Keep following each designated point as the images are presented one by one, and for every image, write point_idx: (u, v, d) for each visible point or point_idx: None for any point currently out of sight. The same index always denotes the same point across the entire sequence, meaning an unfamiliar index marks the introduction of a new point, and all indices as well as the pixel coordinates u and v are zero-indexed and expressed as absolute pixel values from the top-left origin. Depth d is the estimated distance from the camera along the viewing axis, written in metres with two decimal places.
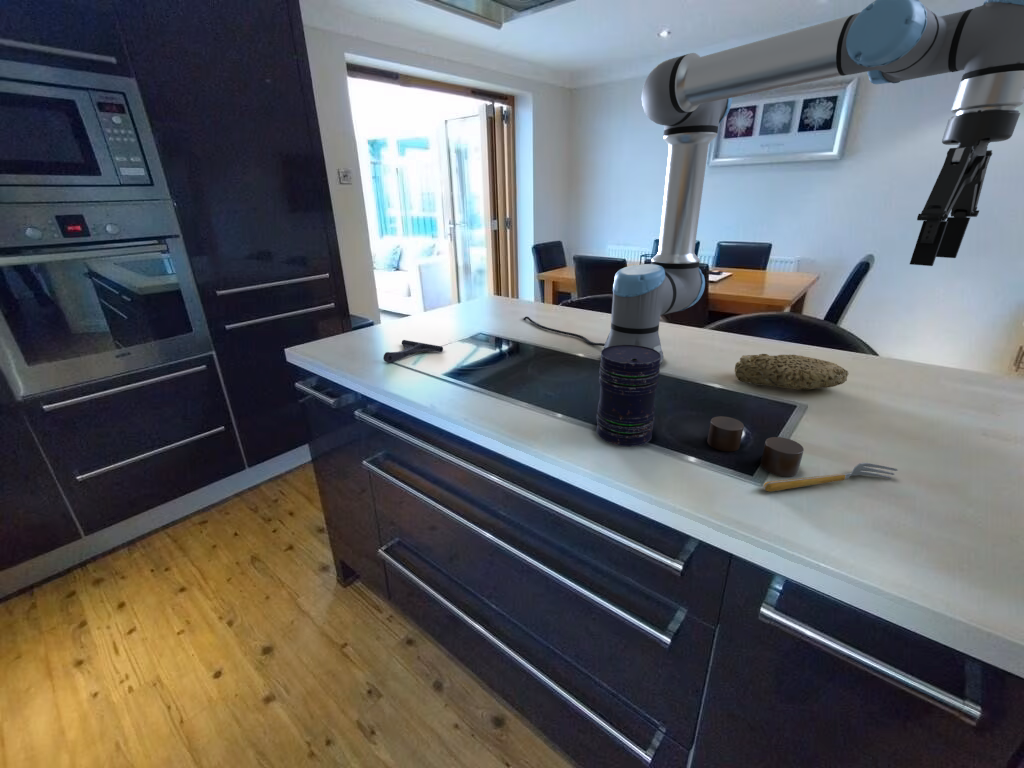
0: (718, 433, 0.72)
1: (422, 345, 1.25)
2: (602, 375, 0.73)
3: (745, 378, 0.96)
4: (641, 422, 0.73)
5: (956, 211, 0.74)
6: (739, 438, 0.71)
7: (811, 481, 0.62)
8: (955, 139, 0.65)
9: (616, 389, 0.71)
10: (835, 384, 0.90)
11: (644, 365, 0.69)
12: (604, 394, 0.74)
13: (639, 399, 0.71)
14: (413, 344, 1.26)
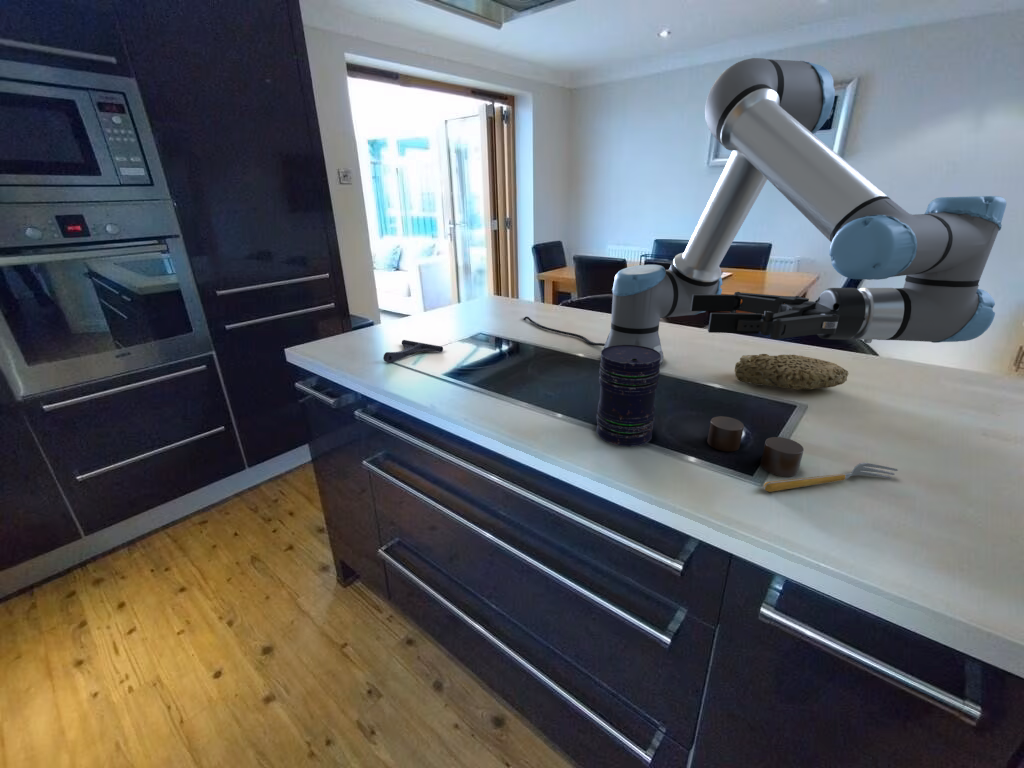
0: (718, 433, 0.72)
1: (422, 345, 1.25)
2: (602, 375, 0.73)
3: (745, 378, 0.96)
4: (641, 422, 0.73)
5: (738, 299, 0.73)
6: (739, 438, 0.71)
7: (811, 481, 0.62)
8: (840, 308, 0.61)
9: (616, 389, 0.71)
10: (835, 384, 0.90)
11: (644, 365, 0.69)
12: (604, 394, 0.74)
13: (639, 399, 0.71)
14: (413, 344, 1.26)
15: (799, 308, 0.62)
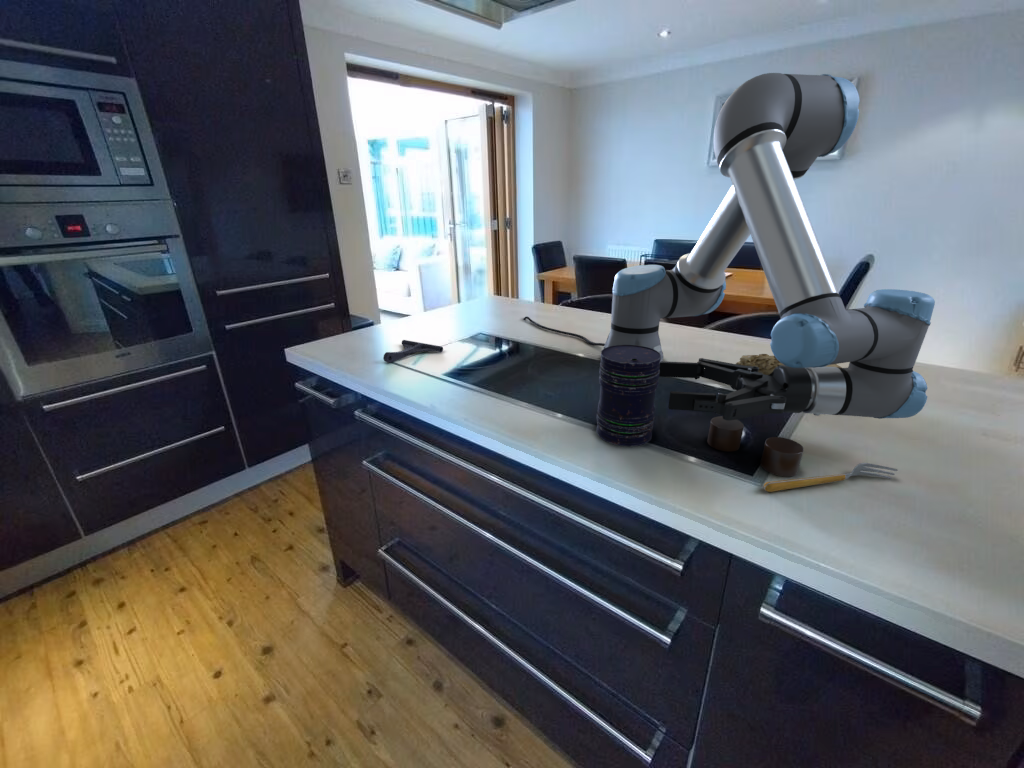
0: (718, 433, 0.72)
1: (422, 345, 1.25)
2: (602, 375, 0.73)
3: None
4: (641, 422, 0.73)
5: (702, 366, 0.79)
6: (739, 438, 0.71)
7: (811, 481, 0.62)
8: (788, 388, 0.67)
9: (616, 389, 0.71)
10: None
11: (644, 365, 0.69)
12: (604, 394, 0.74)
13: (639, 399, 0.71)
14: (413, 344, 1.26)
15: (751, 387, 0.67)
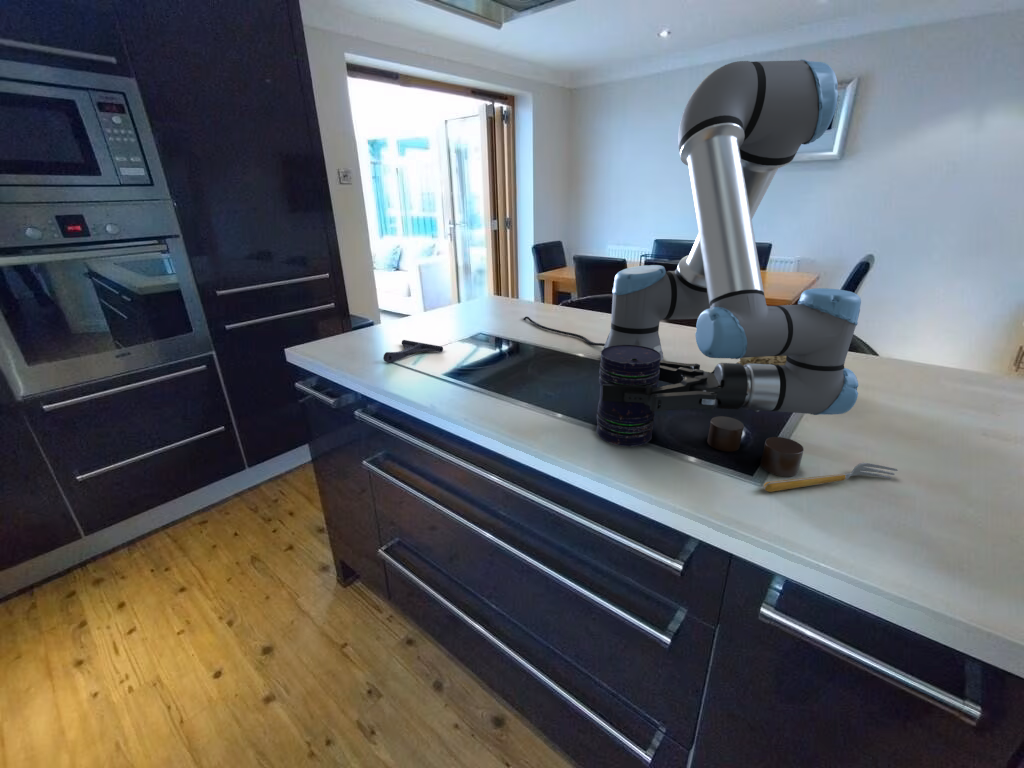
0: (718, 433, 0.72)
1: (422, 345, 1.25)
2: (602, 375, 0.73)
3: None
4: (641, 422, 0.73)
5: None
6: (739, 438, 0.71)
7: (811, 481, 0.62)
8: (725, 384, 0.69)
9: None
10: None
11: (644, 365, 0.69)
12: None
13: None
14: (413, 344, 1.26)
15: (686, 382, 0.70)
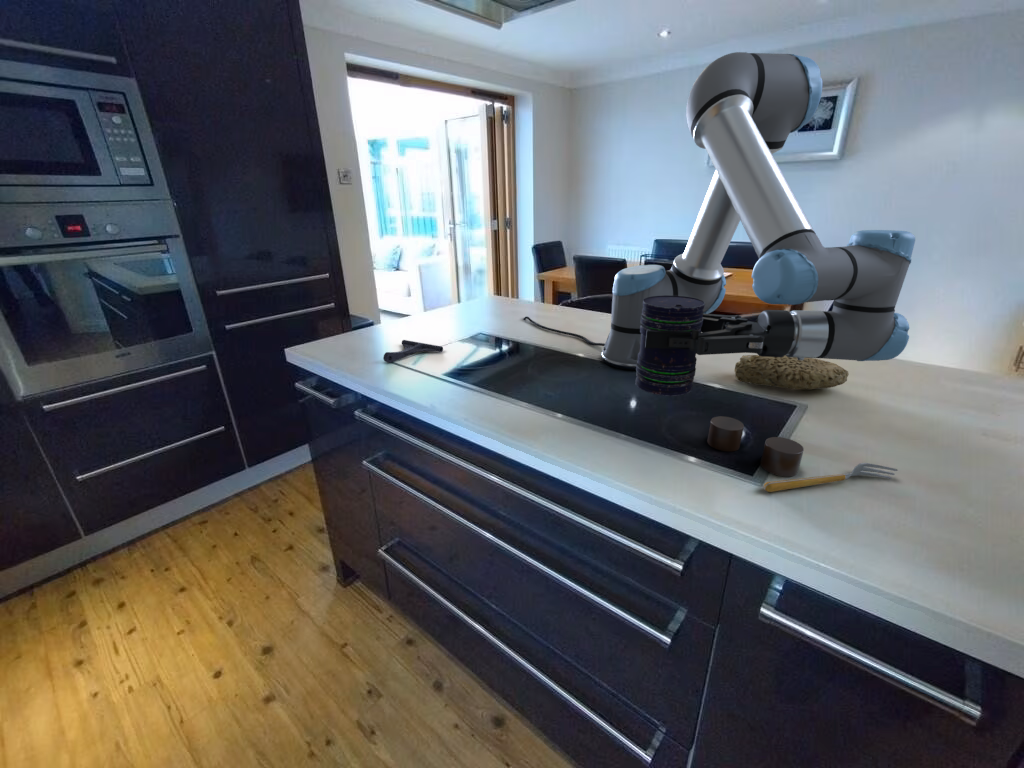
0: (718, 433, 0.72)
1: (422, 345, 1.25)
2: (644, 323, 0.72)
3: (745, 378, 0.96)
4: (684, 370, 0.72)
5: None
6: (739, 438, 0.71)
7: (811, 481, 0.62)
8: (771, 329, 0.68)
9: None
10: (835, 384, 0.90)
11: (689, 310, 0.68)
12: None
13: None
14: (413, 344, 1.26)
15: (731, 328, 0.69)
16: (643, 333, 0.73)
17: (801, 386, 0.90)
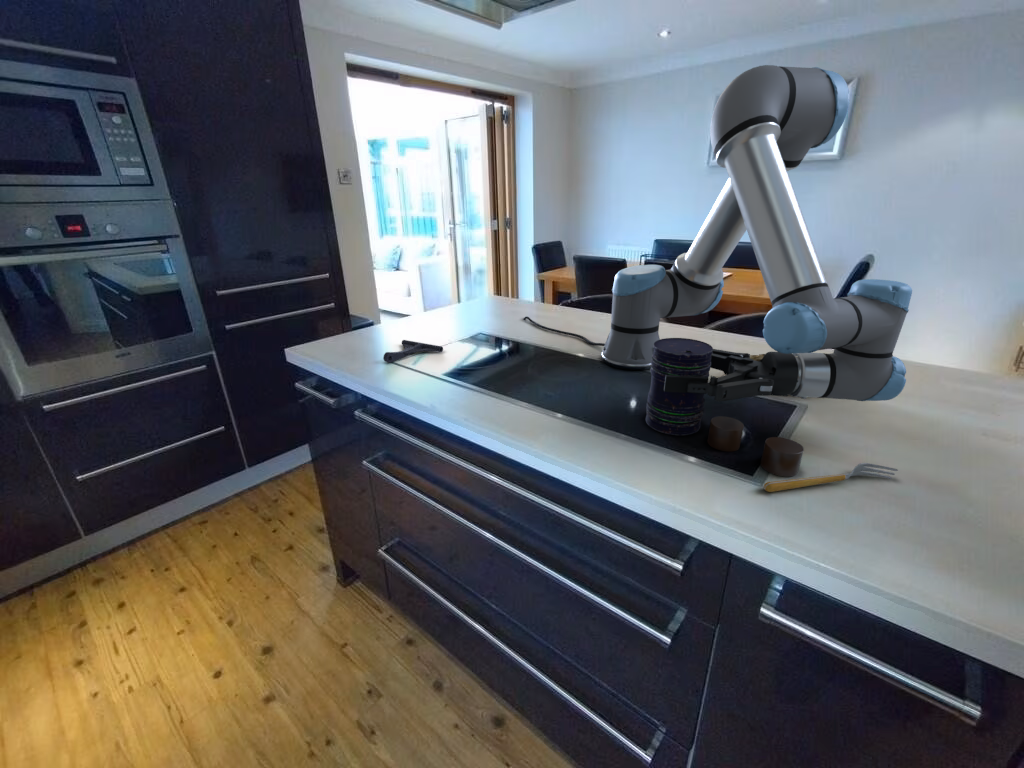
0: (718, 433, 0.72)
1: (422, 345, 1.25)
2: (655, 366, 0.76)
3: None
4: (693, 412, 0.76)
5: None
6: (739, 438, 0.71)
7: (811, 481, 0.62)
8: (776, 372, 0.71)
9: None
10: None
11: (698, 357, 0.72)
12: (656, 385, 0.77)
13: None
14: (413, 344, 1.26)
15: (742, 371, 0.72)
16: (654, 375, 0.77)
17: None
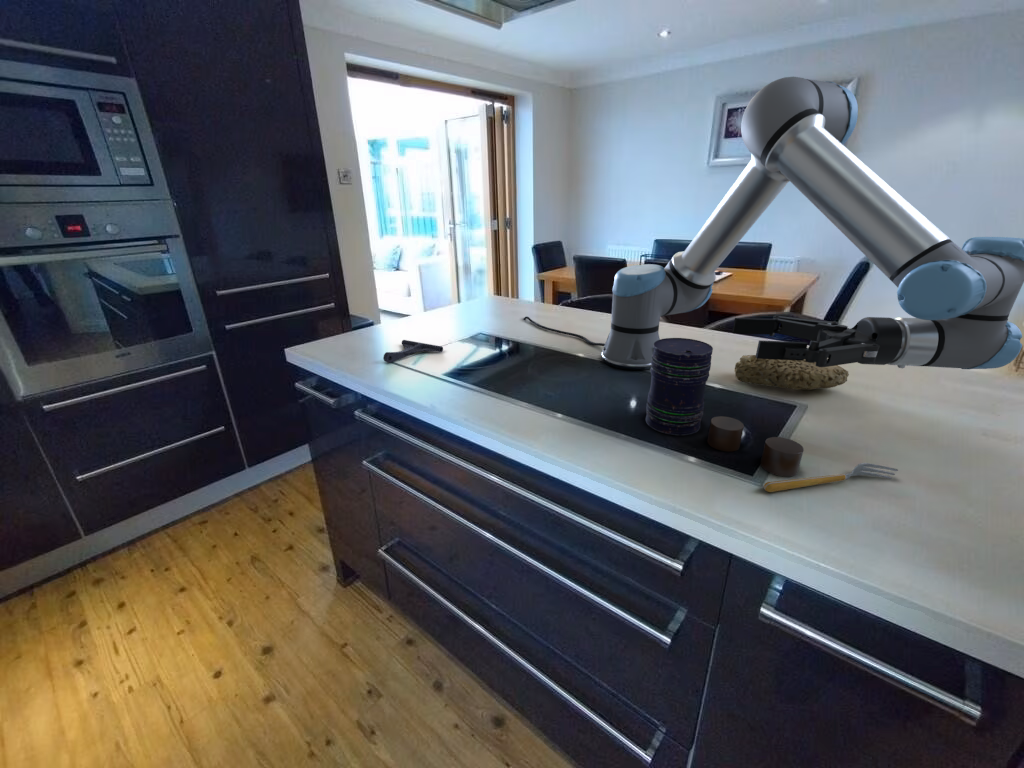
0: (718, 433, 0.72)
1: (422, 345, 1.25)
2: (655, 366, 0.76)
3: (745, 378, 0.96)
4: (693, 412, 0.76)
5: (778, 322, 0.78)
6: (739, 438, 0.71)
7: (811, 481, 0.62)
8: (878, 337, 0.67)
9: (670, 380, 0.74)
10: (835, 384, 0.90)
11: (698, 357, 0.72)
12: (656, 385, 0.77)
13: (692, 389, 0.74)
14: (413, 344, 1.26)
15: (841, 337, 0.67)
16: (654, 375, 0.77)
17: (801, 386, 0.90)
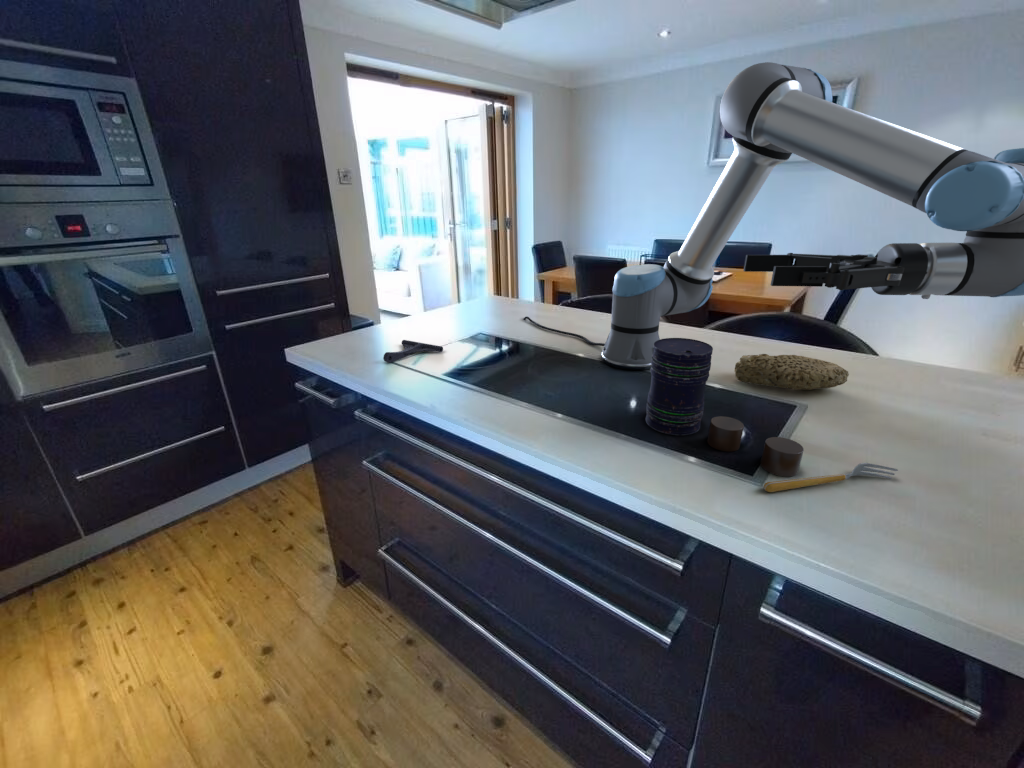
0: (718, 433, 0.72)
1: (422, 345, 1.25)
2: (655, 366, 0.76)
3: (745, 378, 0.96)
4: (693, 412, 0.76)
5: (792, 259, 0.74)
6: (739, 438, 0.71)
7: (811, 481, 0.62)
8: (902, 262, 0.62)
9: (670, 380, 0.74)
10: (835, 384, 0.90)
11: (698, 357, 0.72)
12: (656, 385, 0.77)
13: (692, 389, 0.74)
14: (413, 344, 1.26)
15: (862, 262, 0.63)
16: (654, 375, 0.77)
17: (801, 386, 0.90)
